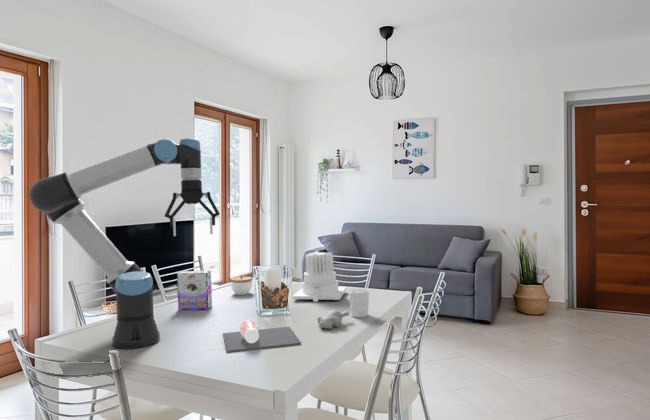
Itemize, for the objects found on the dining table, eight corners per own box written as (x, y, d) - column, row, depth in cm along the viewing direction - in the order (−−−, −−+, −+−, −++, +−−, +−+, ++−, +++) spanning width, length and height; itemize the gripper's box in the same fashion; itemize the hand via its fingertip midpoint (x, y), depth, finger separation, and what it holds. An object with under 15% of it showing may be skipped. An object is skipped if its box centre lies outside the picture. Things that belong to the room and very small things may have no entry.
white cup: (368, 312, 194) (367, 288, 194) (370, 317, 186) (370, 292, 186) (349, 313, 194) (348, 289, 193) (350, 318, 186) (350, 293, 185)
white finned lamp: (339, 303, 212) (337, 256, 212) (291, 302, 216) (290, 256, 216) (346, 291, 237) (345, 249, 236) (304, 291, 241) (302, 249, 240)
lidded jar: (257, 292, 240) (256, 274, 240) (242, 296, 231) (242, 277, 231) (241, 290, 246) (240, 272, 245) (226, 294, 237) (226, 276, 236)
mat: (301, 344, 155) (301, 342, 155) (226, 352, 149) (226, 350, 149) (289, 328, 174) (289, 326, 174) (223, 334, 168) (222, 333, 168)
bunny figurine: (311, 318, 172) (329, 304, 186) (312, 331, 173) (330, 317, 186) (335, 321, 168) (351, 306, 181) (336, 334, 169) (352, 319, 182)
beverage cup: (244, 348, 153) (240, 335, 166) (263, 342, 154) (257, 330, 168) (240, 330, 152) (236, 319, 166) (259, 324, 154) (253, 314, 167)
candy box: (212, 306, 211) (211, 270, 211) (208, 310, 206) (207, 272, 205) (183, 306, 213) (181, 270, 212) (177, 310, 207) (176, 272, 206)
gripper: (156, 179, 174) (158, 237, 175) (225, 178, 180) (226, 234, 181) (157, 180, 181) (159, 235, 182) (223, 179, 188) (225, 232, 188)
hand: (193, 235), depth 181 cm, fingers open, 13 cm apart
